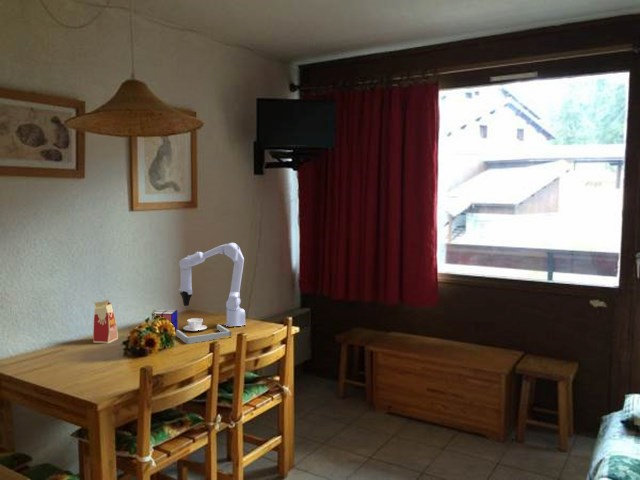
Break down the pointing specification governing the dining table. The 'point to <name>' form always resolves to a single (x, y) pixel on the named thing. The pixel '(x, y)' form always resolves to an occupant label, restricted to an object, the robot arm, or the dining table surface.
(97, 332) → the milk carton
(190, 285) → the robot arm
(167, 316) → the puzzle cube
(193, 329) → the teacup
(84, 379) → the dining table surface
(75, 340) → the dining table surface
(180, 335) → the tray
